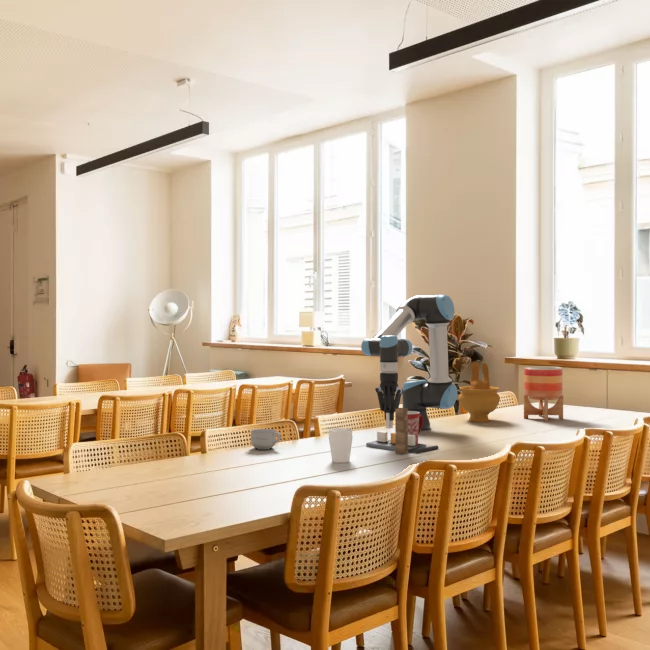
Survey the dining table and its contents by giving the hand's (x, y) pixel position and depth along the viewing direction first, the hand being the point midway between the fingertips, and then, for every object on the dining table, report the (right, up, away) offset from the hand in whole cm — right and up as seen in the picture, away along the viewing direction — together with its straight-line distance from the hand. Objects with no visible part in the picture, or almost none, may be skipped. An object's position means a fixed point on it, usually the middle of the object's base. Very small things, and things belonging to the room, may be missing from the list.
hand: (389, 427), depth 301 cm
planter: (+87, -6, +73) cm, 114 cm away
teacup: (-52, -9, -3) cm, 52 cm away
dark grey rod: (+14, -8, -10) cm, 19 cm away
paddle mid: (+3, -6, -2) cm, 7 cm away
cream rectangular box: (+8, -6, -7) cm, 12 cm away
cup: (-21, -9, -29) cm, 37 cm away
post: (+4, -8, -15) cm, 17 cm away
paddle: (-3, -6, +2) cm, 7 cm away
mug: (+11, -8, +7) cm, 15 cm away
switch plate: (+3, -8, -2) cm, 9 cm away
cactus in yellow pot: (+53, -6, +70) cm, 88 cm away
